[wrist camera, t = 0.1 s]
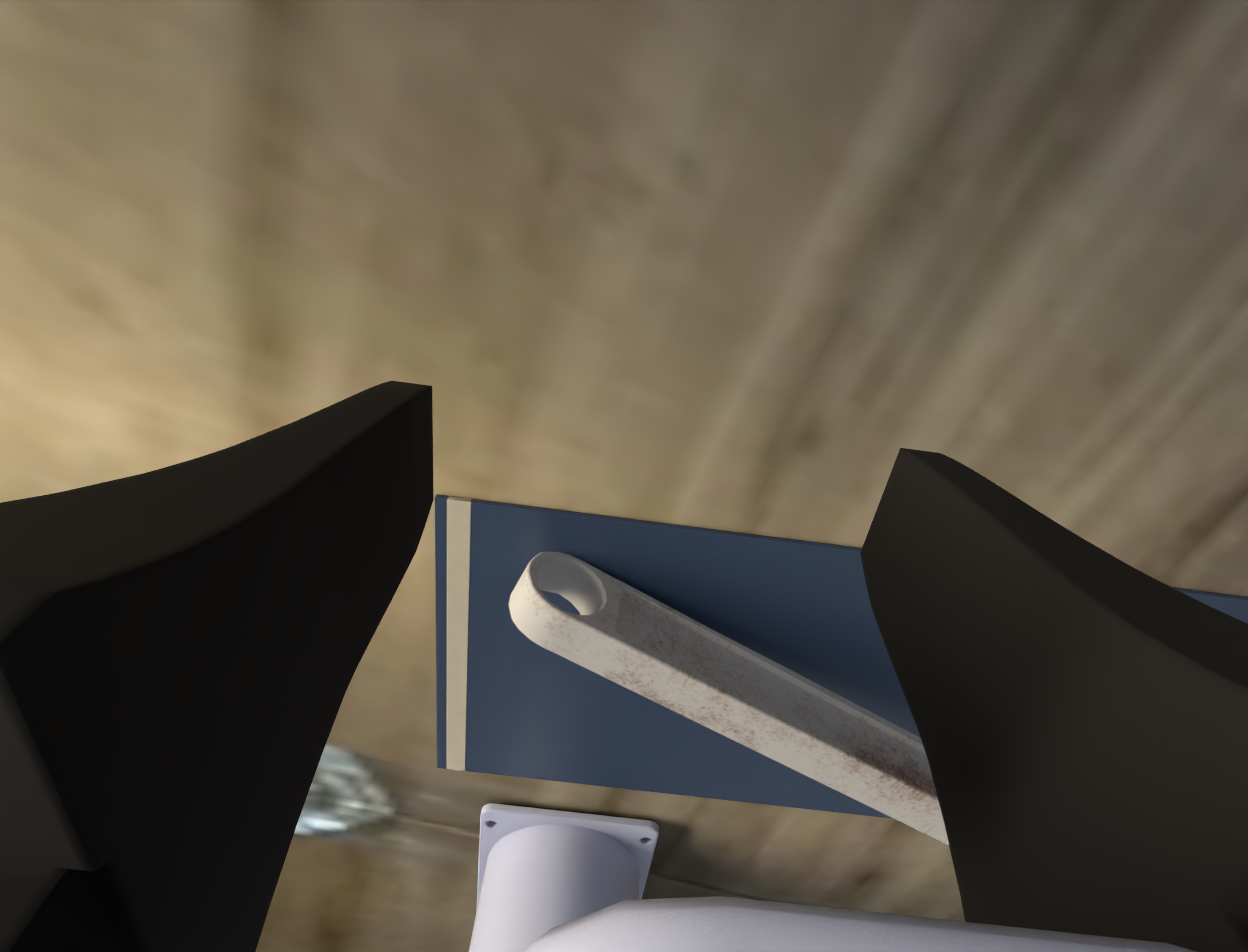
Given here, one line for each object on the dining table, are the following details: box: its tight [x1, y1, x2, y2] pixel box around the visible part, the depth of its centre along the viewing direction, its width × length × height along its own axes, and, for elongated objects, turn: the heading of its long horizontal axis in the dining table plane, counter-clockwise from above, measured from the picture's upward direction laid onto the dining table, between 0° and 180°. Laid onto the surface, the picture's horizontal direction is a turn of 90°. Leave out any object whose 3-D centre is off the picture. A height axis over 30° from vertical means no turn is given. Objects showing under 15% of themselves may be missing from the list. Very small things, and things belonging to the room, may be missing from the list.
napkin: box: [435, 495, 1248, 818], centre depth 28 cm, size 14×34×1 cm, turn 82°
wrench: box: [508, 552, 949, 845], centre depth 25 cm, size 8×2×30 cm
